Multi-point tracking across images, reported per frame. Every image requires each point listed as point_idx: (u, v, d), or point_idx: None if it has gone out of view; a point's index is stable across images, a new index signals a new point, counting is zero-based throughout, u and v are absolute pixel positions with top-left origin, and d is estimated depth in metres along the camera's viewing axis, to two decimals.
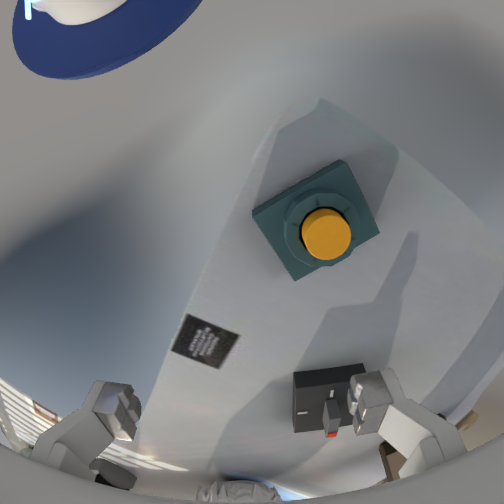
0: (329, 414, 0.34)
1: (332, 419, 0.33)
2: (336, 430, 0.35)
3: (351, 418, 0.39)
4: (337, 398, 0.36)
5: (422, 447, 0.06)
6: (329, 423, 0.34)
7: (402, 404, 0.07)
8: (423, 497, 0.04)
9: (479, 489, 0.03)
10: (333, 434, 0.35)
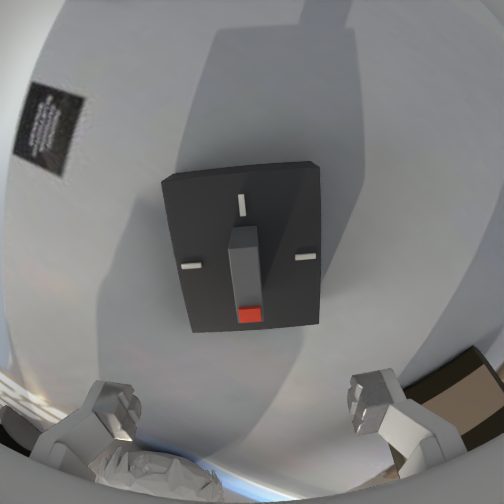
0: (231, 242, 0.17)
1: (235, 249, 0.16)
2: (258, 300, 0.17)
3: (307, 303, 0.22)
4: (259, 225, 0.19)
5: (422, 447, 0.06)
6: (232, 266, 0.16)
7: (402, 404, 0.07)
8: (423, 497, 0.04)
9: (479, 489, 0.03)
10: (252, 312, 0.17)
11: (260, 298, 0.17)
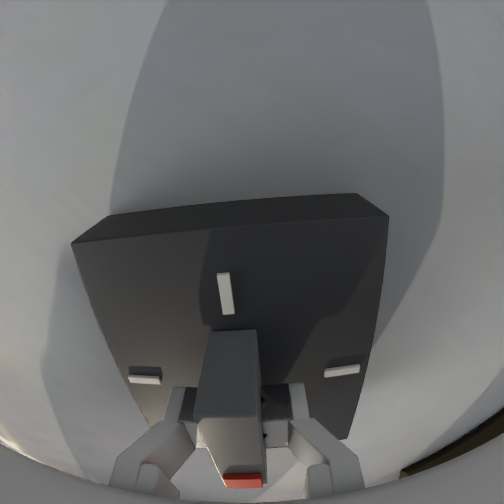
0: (202, 390, 0.07)
1: (209, 418, 0.06)
2: (258, 469, 0.08)
3: (334, 422, 0.12)
4: (261, 328, 0.10)
5: (309, 473, 0.06)
6: (205, 436, 0.07)
7: (302, 423, 0.07)
8: (423, 497, 0.04)
9: (479, 489, 0.03)
10: (248, 482, 0.08)
11: (261, 467, 0.08)
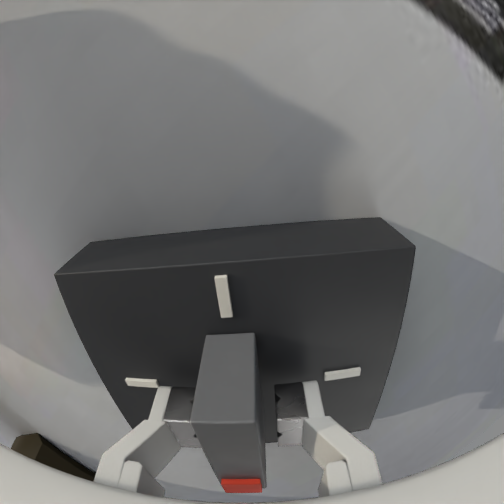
0: (199, 396, 0.07)
1: (206, 424, 0.06)
2: (257, 474, 0.07)
3: None
4: None
5: (327, 471, 0.06)
6: (203, 442, 0.07)
7: (318, 421, 0.07)
8: (423, 497, 0.04)
9: (479, 489, 0.03)
10: (247, 486, 0.07)
11: (260, 472, 0.07)
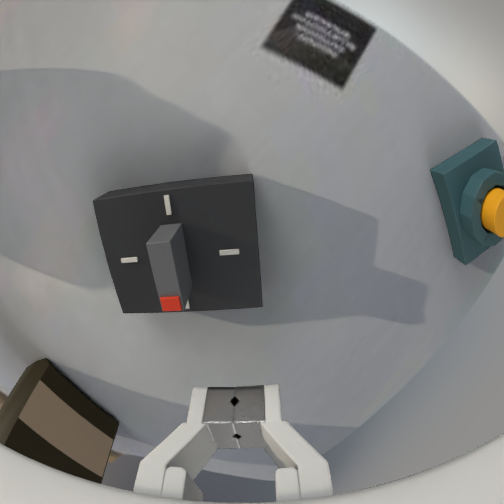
0: (152, 238, 0.18)
1: (152, 244, 0.17)
2: (176, 290, 0.19)
3: (141, 303, 0.23)
4: (211, 265, 0.22)
5: (277, 476, 0.06)
6: (151, 259, 0.18)
7: (274, 425, 0.07)
8: (423, 497, 0.04)
9: (479, 489, 0.03)
10: (172, 301, 0.19)
11: (178, 289, 0.19)
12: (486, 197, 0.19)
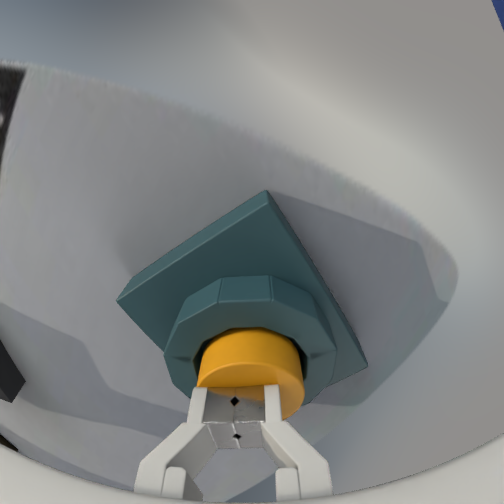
0: None
1: None
2: None
3: None
4: None
5: (277, 477, 0.06)
6: None
7: (274, 425, 0.07)
8: (423, 497, 0.04)
9: (479, 489, 0.03)
10: None
11: None
12: (205, 349, 0.11)
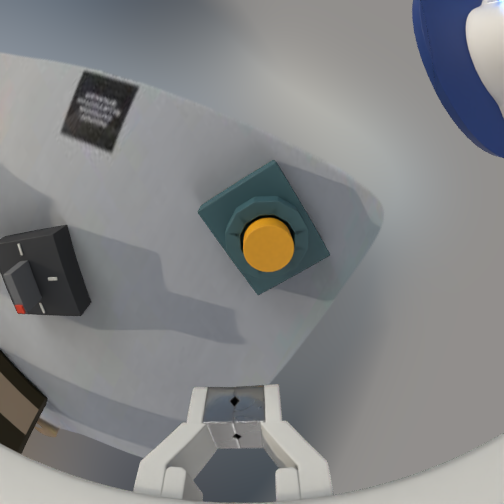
0: (8, 271, 0.24)
1: (5, 275, 0.23)
2: (20, 301, 0.24)
3: None
4: (47, 286, 0.28)
5: (277, 477, 0.06)
6: (6, 283, 0.24)
7: (274, 425, 0.07)
8: (423, 497, 0.04)
9: (479, 489, 0.03)
10: (19, 308, 0.24)
11: (21, 300, 0.24)
12: (246, 230, 0.24)
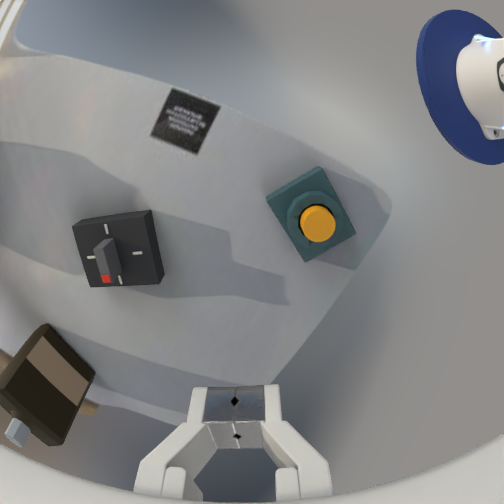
0: (96, 246, 0.35)
1: (95, 249, 0.34)
2: (108, 271, 0.35)
3: (99, 281, 0.40)
4: (130, 260, 0.39)
5: (277, 476, 0.06)
6: (95, 256, 0.35)
7: (274, 425, 0.07)
8: (423, 497, 0.04)
9: (479, 489, 0.03)
10: (106, 277, 0.35)
11: (108, 271, 0.35)
12: (302, 213, 0.35)
